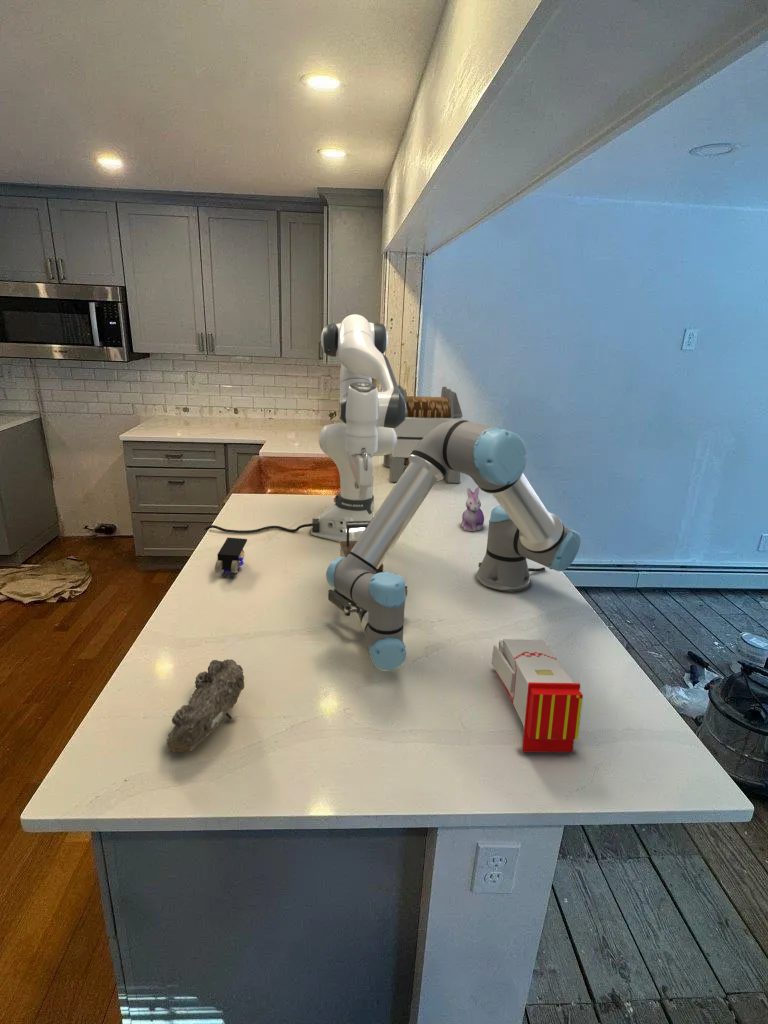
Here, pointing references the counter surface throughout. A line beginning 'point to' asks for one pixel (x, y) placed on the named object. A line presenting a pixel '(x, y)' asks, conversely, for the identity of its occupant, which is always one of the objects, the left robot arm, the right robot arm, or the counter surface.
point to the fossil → (206, 705)
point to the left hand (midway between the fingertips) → (359, 493)
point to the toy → (539, 694)
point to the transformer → (421, 428)
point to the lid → (348, 545)
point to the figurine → (473, 512)
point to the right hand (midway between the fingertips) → (363, 578)
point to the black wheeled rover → (230, 556)
